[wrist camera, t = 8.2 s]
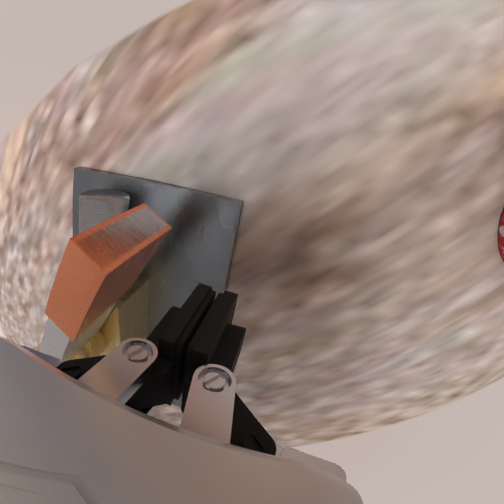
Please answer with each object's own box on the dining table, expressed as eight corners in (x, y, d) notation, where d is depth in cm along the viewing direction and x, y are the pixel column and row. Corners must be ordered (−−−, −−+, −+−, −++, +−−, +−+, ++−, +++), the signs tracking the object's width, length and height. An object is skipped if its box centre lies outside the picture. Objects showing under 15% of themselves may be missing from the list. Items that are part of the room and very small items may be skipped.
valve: (203, 409, 28) (188, 447, 23) (91, 363, 29) (67, 390, 24) (243, 201, 19) (221, 221, 15) (79, 166, 20) (34, 177, 16)
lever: (98, 359, 20) (58, 406, 15) (66, 328, 20) (22, 370, 15) (183, 238, 15) (122, 290, 10) (134, 193, 15) (57, 224, 9)
